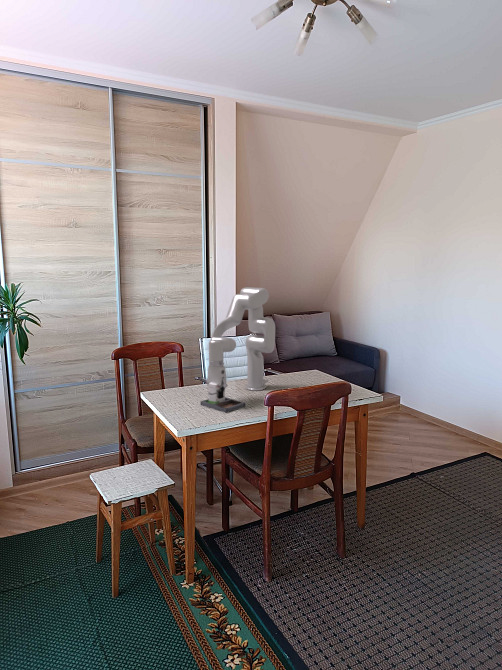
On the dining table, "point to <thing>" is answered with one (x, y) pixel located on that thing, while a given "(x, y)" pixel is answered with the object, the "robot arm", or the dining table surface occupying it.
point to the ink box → (215, 394)
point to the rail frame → (224, 405)
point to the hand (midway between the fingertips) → (216, 396)
